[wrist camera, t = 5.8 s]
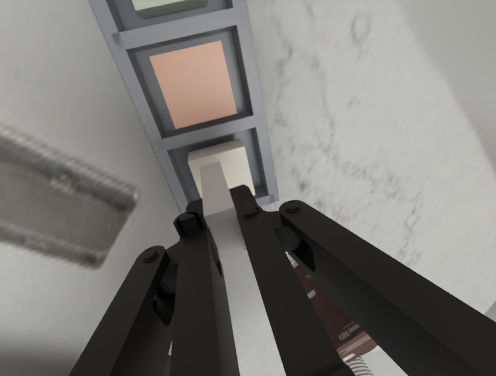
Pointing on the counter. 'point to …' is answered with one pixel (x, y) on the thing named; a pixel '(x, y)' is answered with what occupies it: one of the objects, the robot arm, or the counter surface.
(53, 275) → the counter surface
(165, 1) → the key sage
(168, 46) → the gray divided tray
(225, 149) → the key ivory
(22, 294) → the counter surface
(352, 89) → the counter surface
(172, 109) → the key terracotta
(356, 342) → the box
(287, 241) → the robot arm
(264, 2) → the counter surface
